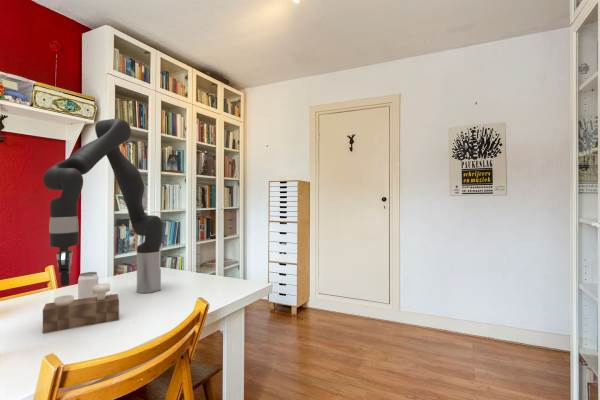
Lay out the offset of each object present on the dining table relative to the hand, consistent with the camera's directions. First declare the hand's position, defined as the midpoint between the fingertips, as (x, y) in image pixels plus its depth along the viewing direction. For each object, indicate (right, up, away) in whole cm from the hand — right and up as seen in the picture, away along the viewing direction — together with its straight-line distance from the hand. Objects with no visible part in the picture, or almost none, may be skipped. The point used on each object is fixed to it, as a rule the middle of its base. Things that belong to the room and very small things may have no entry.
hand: (65, 285), depth 102 cm
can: (-6, -13, +20) cm, 25 cm away
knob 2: (+8, -9, +5) cm, 13 cm away
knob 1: (0, -12, 0) cm, 12 cm away
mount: (+4, -13, +3) cm, 14 cm away
